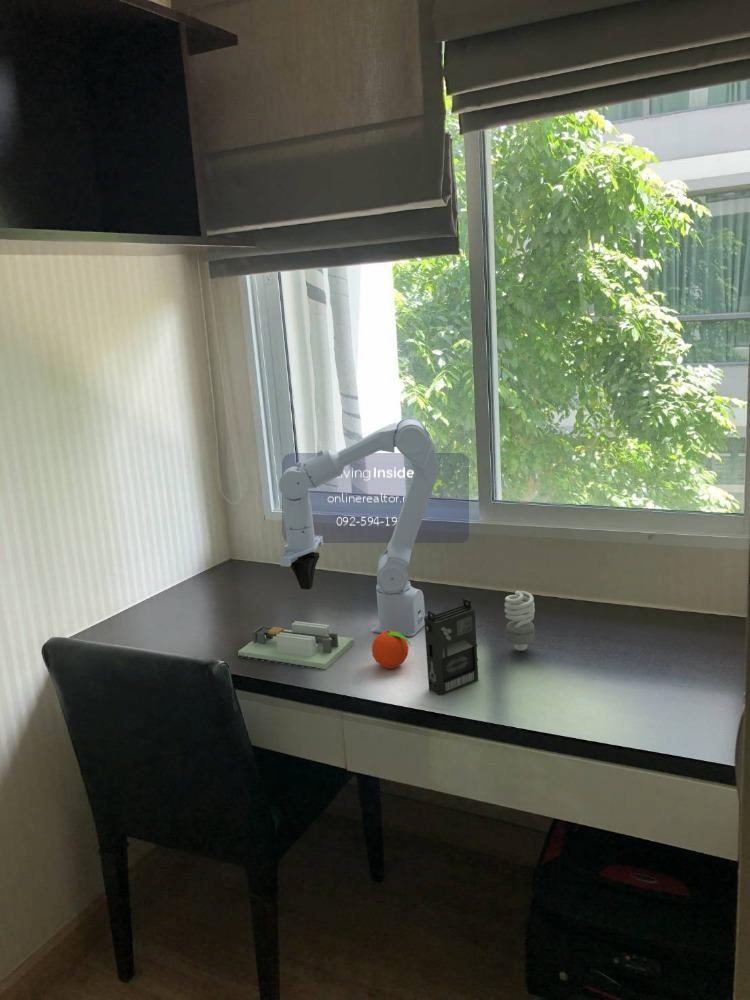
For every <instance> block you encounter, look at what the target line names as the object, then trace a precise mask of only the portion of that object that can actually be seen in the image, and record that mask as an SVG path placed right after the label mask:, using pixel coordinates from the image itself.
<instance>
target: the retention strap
mask: <svg viewBox="0 0 750 1000" xmlns="http://www.w3.org/2000/svg"><path fill="white" fill-rule="evenodd" d="M284 630H285V629H284V627H278V626H272V628H271V629H265V627H264V629H262V630H261V631H260V632H263V633H265V635H267V636H275V637H276V635H277V634H279V633H280V632H281V633H289V634H297V635H305V636H312V637H315V641H316V642H321V643H322V639H323V638H324V639H330V642H332V641H333V640H334V637H333V636H331V637H329V636H321V635H313V634H305V633H297V632H289V631H284Z"/></svg>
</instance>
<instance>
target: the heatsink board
mask: <svg viewBox="0 0 750 1000" xmlns="http://www.w3.org/2000/svg"><path fill="white" fill-rule="evenodd" d="M264 628H265V629H271V628H273V626H267V625H265V626H264V625H260V626H259V627H257V628H255V630H252V632H251V634H252V641H250V642H249V643H247V644H246V645H245V646H243V647H242V648H240V649H239V650H238V651H237V652H238V656H239V655H242V656H243V655H244V656H248V657H254V658H261V659H269V660H276V661H282V662H289V663H295V664H301V665H306V666H312V667H317V668H316V669H318V668H322V669H321V670H324V669H326V670H327V669H329V667H330V666H331V665H333V664H334V663H335V662H336V661H337V660H338V659H339V658H340V657H342V655H344V654H345V653H346V652H347V651H348V650H349V649H350V648H352V646H353V645H354V644H355V638H353V637H345V636H338V633H336V632H331V627H330V625H329V624H322V623H313V622H305V621H298V620H294V621H293V623H291V629H284V631H289V632H297V633H305V634H313V635H321V636H329V637H331V636H333V637H334V640H333V641H332V642H330V639H324V638H323V639H322V643H321V642H316V641H315V637H312V636H305V635H297V634H289V633H281V632H280V633H279V634H277V635H276V637H275V636H267V635H265V633H263V632H260V631H261V630H262V629H264Z"/></svg>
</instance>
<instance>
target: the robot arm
mask: <svg viewBox="0 0 750 1000" xmlns="http://www.w3.org/2000/svg"><path fill="white" fill-rule="evenodd" d="M395 448H397V450H398V451H399V453H401V454H402V456H404V458H406V459H407V460H409V463H410V465H411V466H412V468H413V469H414V471H413V474H412V477H411V480H410V482H409V487H408V489H407V491H406V495H405V498H404V501H403V503H402V506H401V510H400V513H399V516H398V518H397V520H396V523H395V527H394V530H393V533H392V535H391V539H390V540H389V542H388V544H387V547H386V549H385V550H384V552H383V553H381V554H380V556H379V557H378V560H377V562H376V568H377V575H376V581H377V584H376V585H375V590H376V600H377V601H376V602H377V613H378V623H377V624H376V625H375V626H374V627H373V628H371V631H372V632H373V633H379V634H381V633H382V632H384V631H395V632H398V633H400V634H402V635H403V636H404V637H415V636H416V634H417V633H418V632H419V631H420V630H421V629H422V628H423V627H425V623H424V617H425V616H426V611H425V609H426V608H425V596H424V593H423V591H422V589H418V588H415V587H413V586H412V585H411V581H410V580H409V575H408V567H409V565H410V562H411V561H410V560H411V555H412V551H413V547H414V544H415V541H416V539H417V535H418V533H419V530H420V528H421V527H420V526H421V525H422V521H423V519H424V515H425V513H426V510H427V507H428V505H429V501H430V499H431V495H432V493H433V491H434V487H435V485H436V482H437V480H438V479H437V478H438V476H439V473H440V465H439V462H438V458H437V454H436V451H435V448H434V444H433V441H432V438H431V435H430V433H429V431H428V430H427V428H426V426H425V425H424V424H423V423H422V422H421V420H419V419H417V418H414V417H405V418H402V419H401V420H399V421H398V423H397V422H393V423H390V424H388V425H386V426H383V427H381V428H379V429H377V430H375V431H373V432H372V433H369V434H368V435H367V436H365V437H363V438H361V439H359V440H357V441H355V442H354V443H352V444H350V445H348V446H346V447H345V448H343V449H340V450H338V451H335V450H332V449H327V450H325V451H324V449H320V450H317V452H316V454H317V455H315V456H312V457H311V458H309V459H306V460H305V461H303V462H302V461H298V462H296V464H295V465H296V466H291V467H288V468H287V469H286V470H285V471H283V474H281V477H280V478H279V483H278V489H279V492H280V493H281V495H282V501H283V505H282V509H283V517H284V525H285V526H284V527H285V534H286V542H287V543H286V544H285V545H284V546H283V550H284V552H283V554H282V555H280V556H279V564H280V567H285V568H286V567H287V568H289V567H290V568H291V570H292V571H293V573H294V575H295V577H296V580H297V582H298V585H299V587H300V589H301V590H307V591H308V590H310V589H312V588H313V585H314V584H313V583H314V577H315V571H316V570H315V569H316V568H317V567H316V566H317V563H318V561H319V558H320V553H319V552H318V551H316V550H317V549H318V547H321V546H323V545H324V538H323V537H324V536H323V535H315V528H314V519H313V509H312V508H313V507H312V503H311V500H310V491H309V490H310V489H316V488H318V487H320V486H322V485H324V484H326V483H328V482H330V481H332V480H334V479H336V478H339V477H341V476H342V475H343V473H344V470H345V468H346V467H347V466H349V465H351V464H354V463H355V462H357V461H360V460H362V459H363V458H366V457H368V456H370V455H373V454H375V453H378V452H379V451H381V452H388V453H393V454H394V453H395ZM315 551H316V552H315Z"/></svg>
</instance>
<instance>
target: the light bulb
mask: <svg viewBox="0 0 750 1000" xmlns="http://www.w3.org/2000/svg"><path fill="white" fill-rule="evenodd" d="M504 601H505V602H504V607H505V608H504V613H505V618H506V619H508V620H510V621H509V622H508V623H507V624H506V626H505V627H506V628H505V632H506V637H507V638H506V639H507V640H508V642H509V643H511V644H513V647H514V648H515V650H517V651H519V652H523V651H525V650H526V649H527V648H528V644H530V643H533V641H534V640H535V634H536V633H535V632H536V631H535V630H536V629H535V625H534V623H533V622H532V621H533V620H534V618H535V611H536V608H535V602H534V601H535V600H534V595H532V594H531V593H530V592H527V591H525V590H516V591H515V592H514V594H510V595H507V596H506V597H505V598H504Z"/></svg>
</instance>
